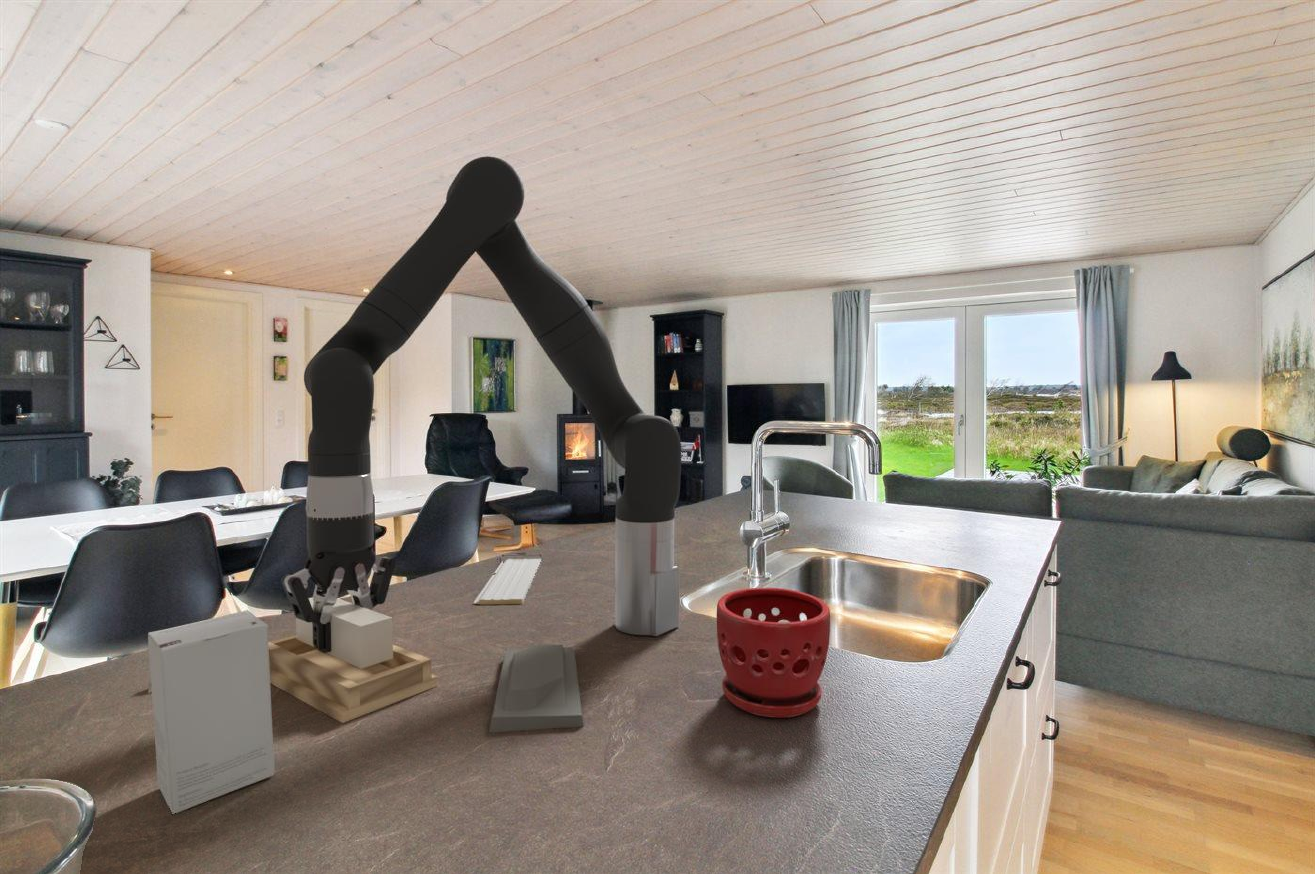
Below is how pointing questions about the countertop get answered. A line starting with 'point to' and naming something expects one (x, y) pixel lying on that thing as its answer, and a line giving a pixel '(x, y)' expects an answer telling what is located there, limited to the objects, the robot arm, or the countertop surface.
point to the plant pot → (773, 650)
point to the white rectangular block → (354, 634)
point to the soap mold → (537, 690)
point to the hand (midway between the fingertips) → (342, 644)
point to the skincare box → (211, 707)
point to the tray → (346, 678)
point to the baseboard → (509, 581)
